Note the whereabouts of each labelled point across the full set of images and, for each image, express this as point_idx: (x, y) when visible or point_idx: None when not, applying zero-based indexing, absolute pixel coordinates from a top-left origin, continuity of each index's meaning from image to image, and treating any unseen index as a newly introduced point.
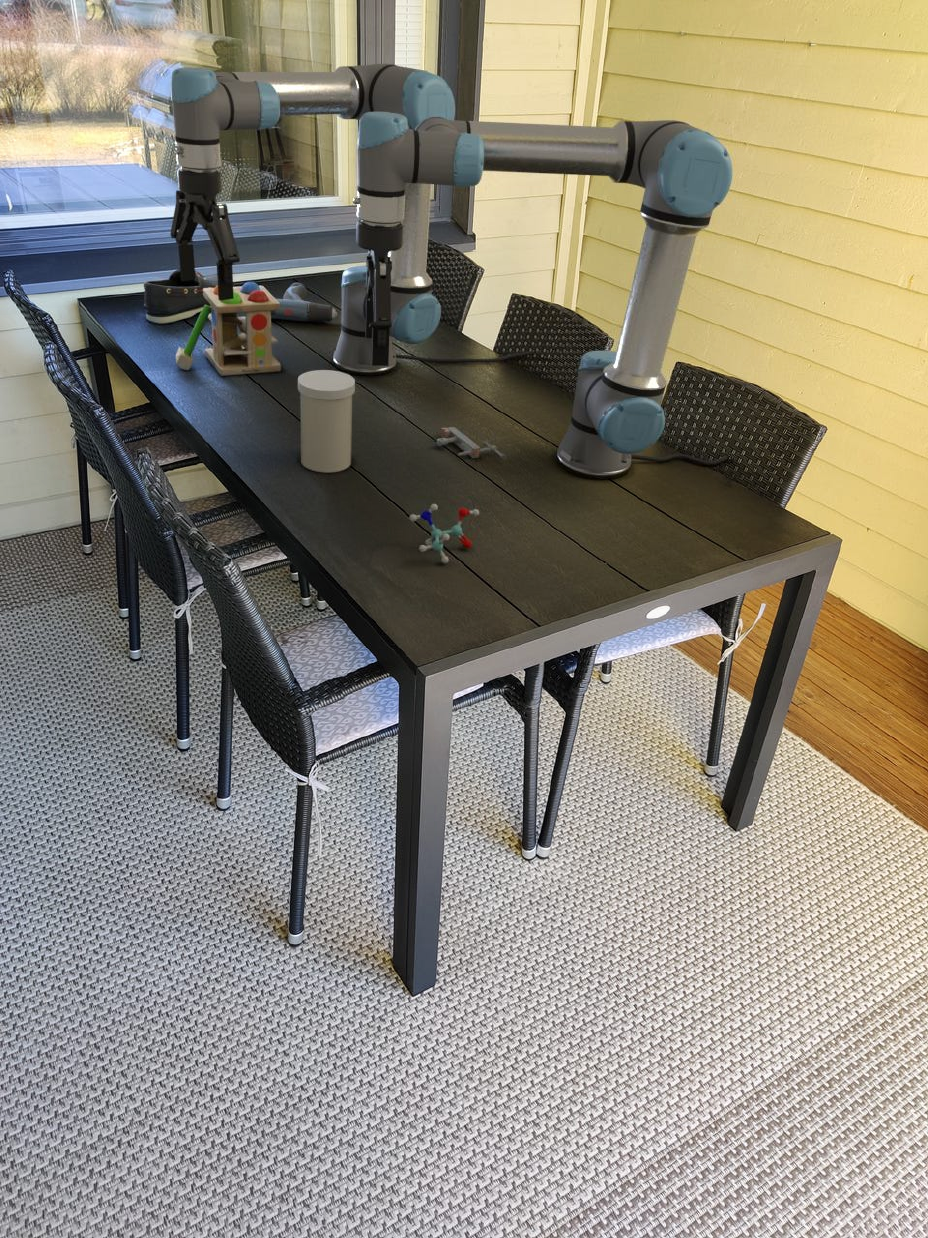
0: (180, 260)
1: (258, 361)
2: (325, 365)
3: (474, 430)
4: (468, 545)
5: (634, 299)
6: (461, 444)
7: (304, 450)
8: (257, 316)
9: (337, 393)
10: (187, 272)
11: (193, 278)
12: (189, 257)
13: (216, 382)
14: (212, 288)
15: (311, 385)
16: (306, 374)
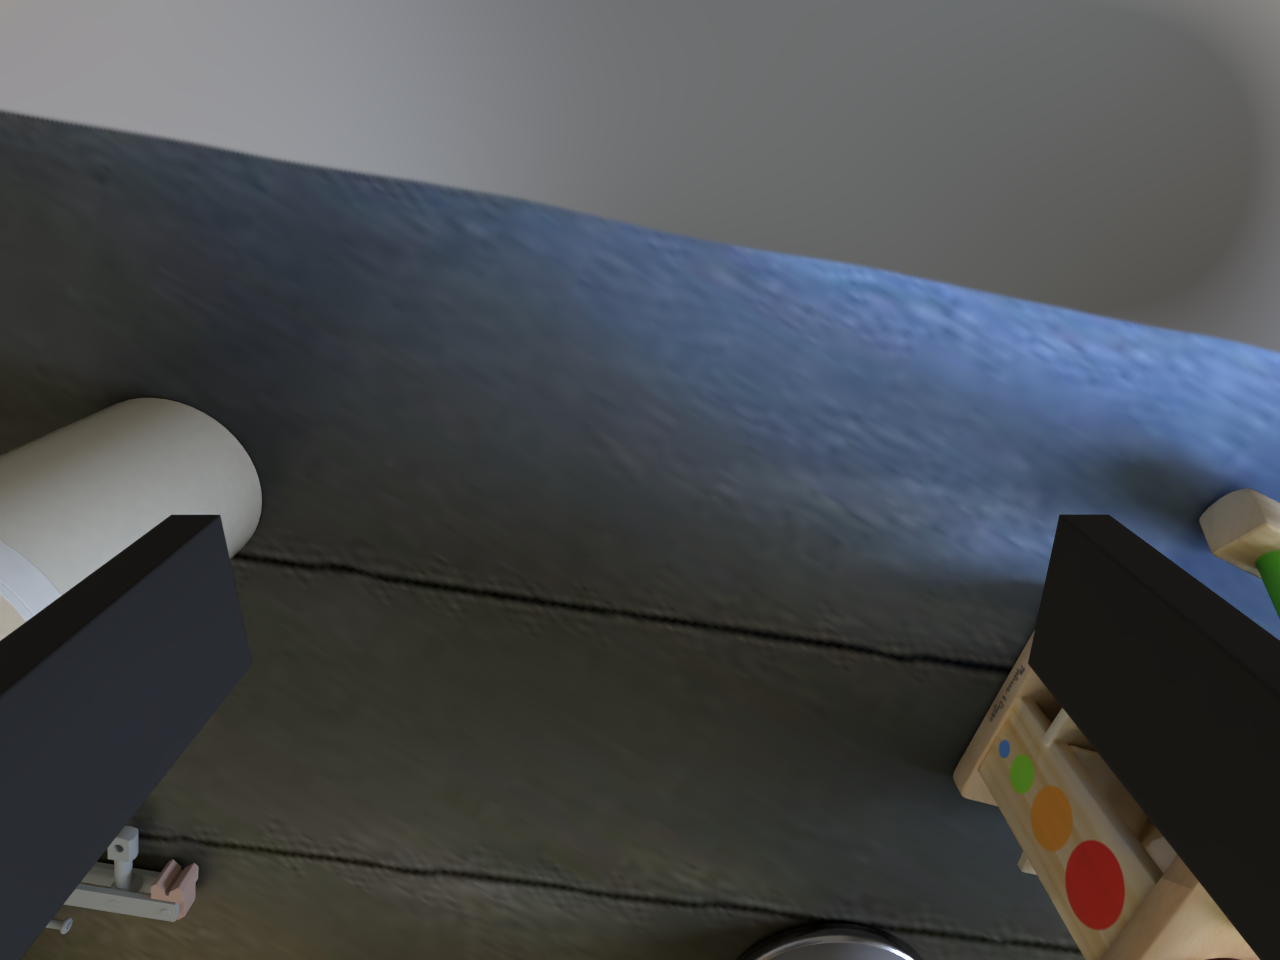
0: (1265, 656)
1: (1009, 742)
2: (900, 909)
3: (215, 957)
4: None
5: None
6: (110, 876)
7: (113, 417)
8: (1112, 903)
9: None
10: (1096, 628)
11: (1037, 648)
12: (1219, 812)
13: (1024, 544)
14: None
15: None
16: (7, 630)
